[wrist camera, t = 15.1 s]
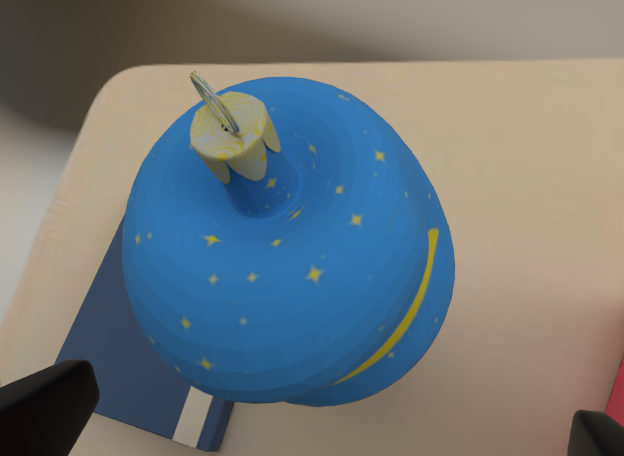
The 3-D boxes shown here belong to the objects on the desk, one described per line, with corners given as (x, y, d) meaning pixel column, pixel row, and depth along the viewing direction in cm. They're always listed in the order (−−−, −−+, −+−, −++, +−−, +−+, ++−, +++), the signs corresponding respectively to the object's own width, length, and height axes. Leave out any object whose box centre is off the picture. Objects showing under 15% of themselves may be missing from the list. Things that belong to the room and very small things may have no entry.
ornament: (355, 457, 16) (89, 566, 3) (272, 348, 18) (-98, 115, 5) (457, 359, 17) (646, 60, 3) (364, 266, 19) (259, -132, 6)
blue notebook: (218, 451, 17) (207, 452, 16) (56, 395, 19) (37, 393, 18) (291, 220, 21) (285, 210, 20) (147, 196, 23) (135, 185, 22)
